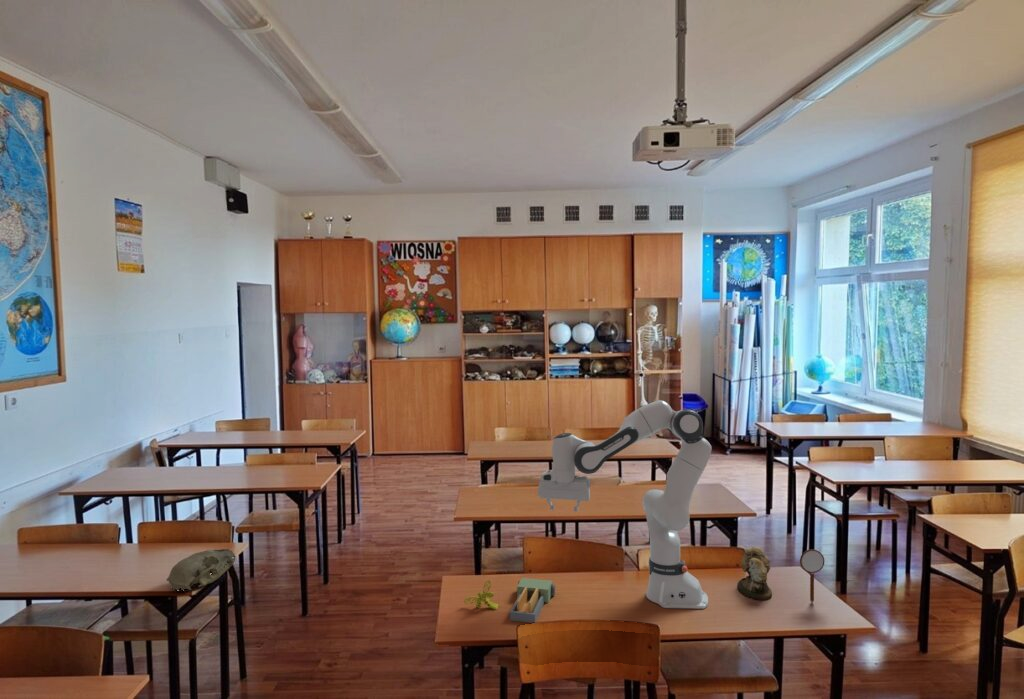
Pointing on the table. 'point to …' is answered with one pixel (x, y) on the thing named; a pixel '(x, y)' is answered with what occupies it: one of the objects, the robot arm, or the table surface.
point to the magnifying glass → (812, 566)
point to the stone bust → (755, 574)
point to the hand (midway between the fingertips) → (564, 510)
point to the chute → (527, 605)
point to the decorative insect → (485, 600)
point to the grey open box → (543, 596)
